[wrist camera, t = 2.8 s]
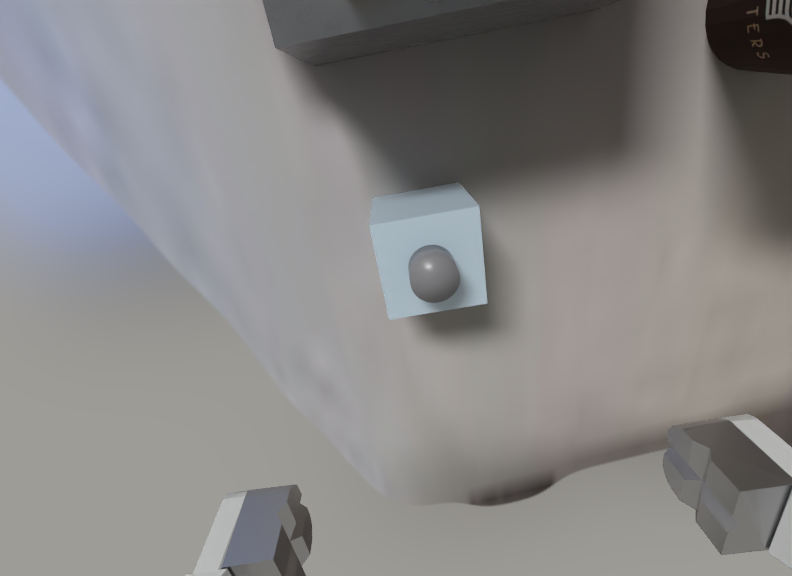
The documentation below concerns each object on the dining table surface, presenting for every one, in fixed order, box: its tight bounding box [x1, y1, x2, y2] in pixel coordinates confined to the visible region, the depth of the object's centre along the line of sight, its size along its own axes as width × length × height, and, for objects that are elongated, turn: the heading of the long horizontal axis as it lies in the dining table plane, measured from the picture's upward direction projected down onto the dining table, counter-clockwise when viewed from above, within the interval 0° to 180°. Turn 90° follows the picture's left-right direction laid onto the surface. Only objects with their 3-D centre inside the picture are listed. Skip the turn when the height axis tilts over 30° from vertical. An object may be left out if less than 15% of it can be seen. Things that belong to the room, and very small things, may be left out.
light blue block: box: [369, 182, 487, 320], centre depth 21 cm, size 5×5×7 cm
